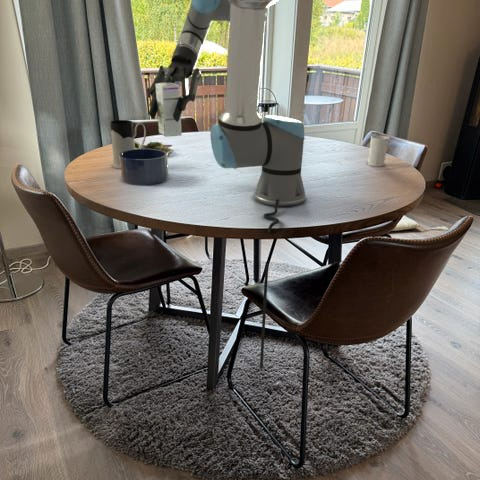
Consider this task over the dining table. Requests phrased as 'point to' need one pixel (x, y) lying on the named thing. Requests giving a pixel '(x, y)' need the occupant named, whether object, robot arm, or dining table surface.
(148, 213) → the dining table surface
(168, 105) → the syrup box
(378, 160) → the cream cylindrical container
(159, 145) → the salad plate
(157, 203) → the dining table surface
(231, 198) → the dining table surface
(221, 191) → the dining table surface
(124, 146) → the white black mug
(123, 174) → the pot
